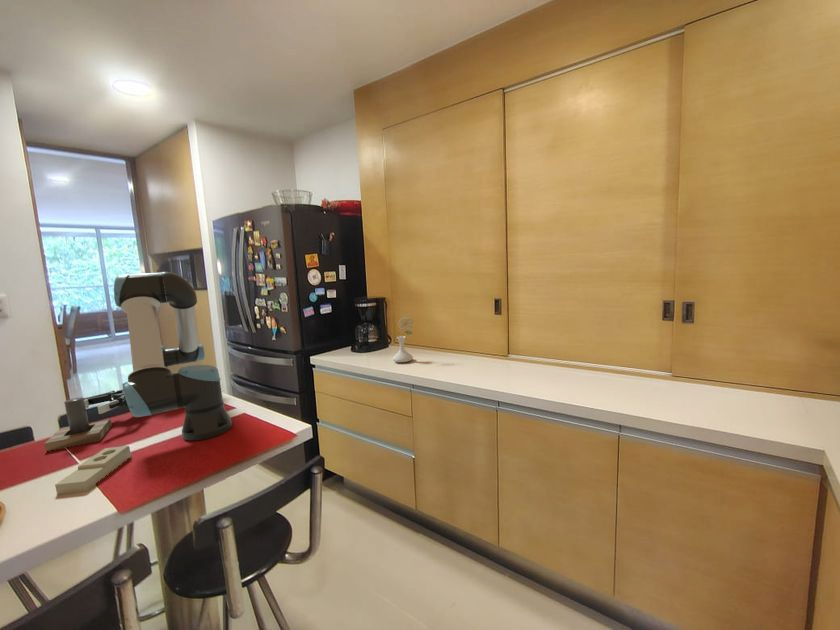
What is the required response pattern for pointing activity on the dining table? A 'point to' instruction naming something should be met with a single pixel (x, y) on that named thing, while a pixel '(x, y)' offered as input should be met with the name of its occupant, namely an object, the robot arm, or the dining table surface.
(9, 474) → the dining table surface
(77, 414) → the plug
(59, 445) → the socket plate
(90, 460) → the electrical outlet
